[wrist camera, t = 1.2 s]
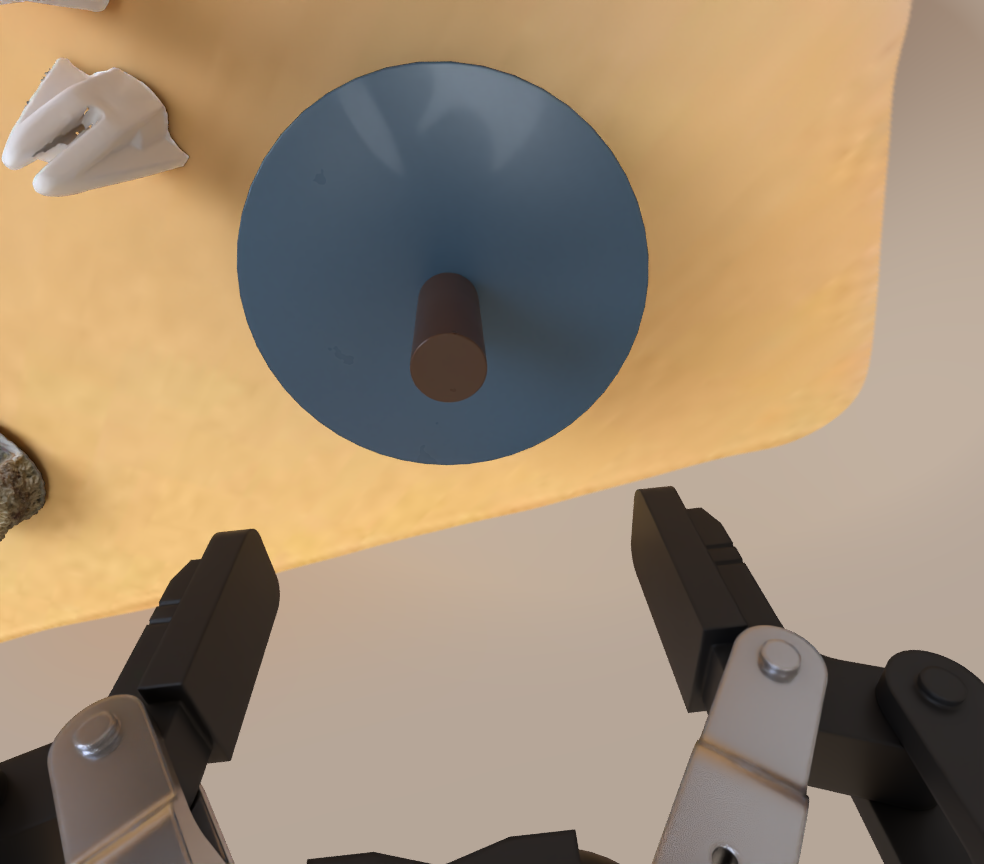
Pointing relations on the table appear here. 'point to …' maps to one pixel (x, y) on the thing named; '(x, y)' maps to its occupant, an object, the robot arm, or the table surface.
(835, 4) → the table surface
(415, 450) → the lid
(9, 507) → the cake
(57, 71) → the shaker set
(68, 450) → the table surface
